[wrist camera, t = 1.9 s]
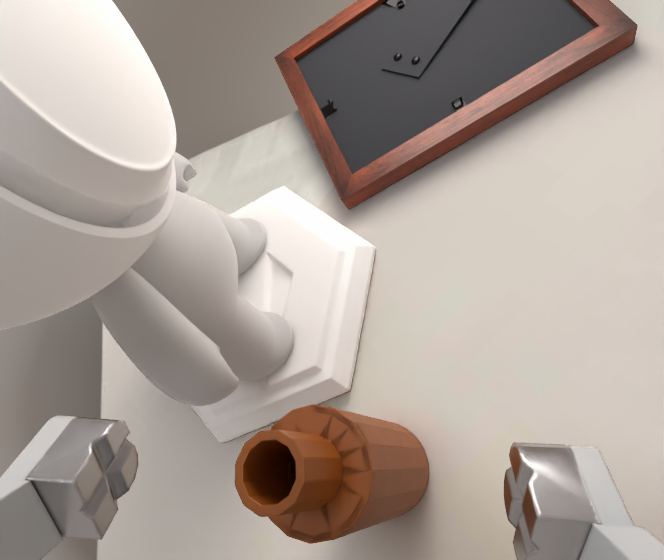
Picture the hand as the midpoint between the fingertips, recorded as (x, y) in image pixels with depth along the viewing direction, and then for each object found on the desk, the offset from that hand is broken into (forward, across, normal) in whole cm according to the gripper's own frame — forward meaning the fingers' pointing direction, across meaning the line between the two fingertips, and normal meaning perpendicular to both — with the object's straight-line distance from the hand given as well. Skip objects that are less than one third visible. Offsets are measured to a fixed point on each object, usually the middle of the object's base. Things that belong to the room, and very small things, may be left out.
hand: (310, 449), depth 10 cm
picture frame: (+42, -5, -3) cm, 42 cm away
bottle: (+15, -2, +20) cm, 25 cm away
